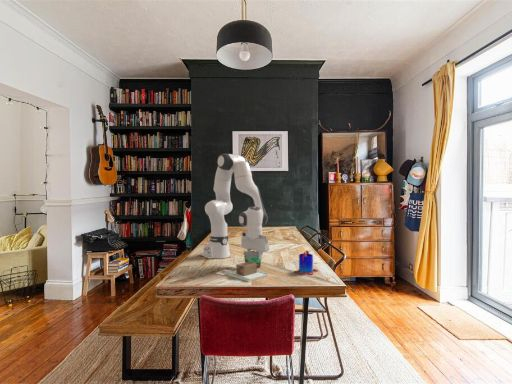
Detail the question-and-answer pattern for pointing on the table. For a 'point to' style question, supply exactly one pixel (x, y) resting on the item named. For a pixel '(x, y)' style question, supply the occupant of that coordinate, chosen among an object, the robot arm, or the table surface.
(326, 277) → the table surface
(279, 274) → the table surface
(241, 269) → the walnut block
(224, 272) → the page
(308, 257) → the fantasy tower
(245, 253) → the food container
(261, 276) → the building board
